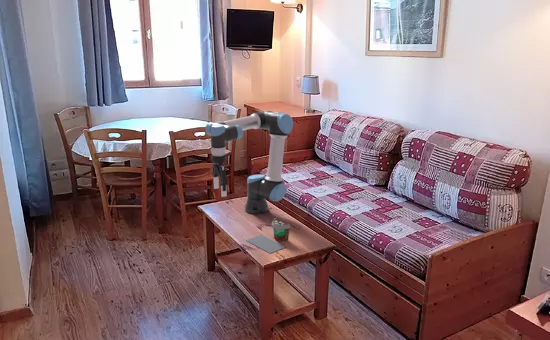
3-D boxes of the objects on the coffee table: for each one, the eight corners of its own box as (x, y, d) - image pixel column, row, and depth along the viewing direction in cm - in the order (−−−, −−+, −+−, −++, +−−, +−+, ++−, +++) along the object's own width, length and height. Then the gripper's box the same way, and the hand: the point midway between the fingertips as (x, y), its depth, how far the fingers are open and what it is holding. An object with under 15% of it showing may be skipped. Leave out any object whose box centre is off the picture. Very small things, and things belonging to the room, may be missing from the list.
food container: (267, 236, 245) (267, 220, 242) (275, 233, 248) (275, 217, 245) (281, 244, 236) (281, 227, 233) (290, 241, 239) (290, 224, 236)
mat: (261, 235, 247) (261, 234, 246) (285, 247, 232) (285, 246, 232) (246, 240, 239) (246, 240, 239) (270, 253, 225) (270, 253, 225)
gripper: (205, 149, 238) (207, 186, 245) (218, 161, 217) (220, 201, 223) (218, 148, 241) (219, 184, 248) (233, 159, 220) (234, 198, 226)
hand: (220, 192), depth 235 cm, fingers open, 13 cm apart
